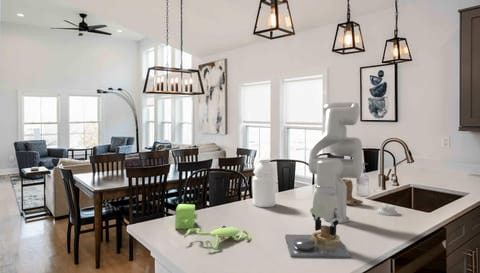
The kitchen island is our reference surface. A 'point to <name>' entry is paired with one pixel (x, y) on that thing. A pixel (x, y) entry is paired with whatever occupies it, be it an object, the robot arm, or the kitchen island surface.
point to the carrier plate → (315, 246)
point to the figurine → (220, 234)
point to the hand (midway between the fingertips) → (325, 232)
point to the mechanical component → (387, 209)
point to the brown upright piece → (350, 193)
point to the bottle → (264, 184)
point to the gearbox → (185, 216)
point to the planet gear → (325, 233)
